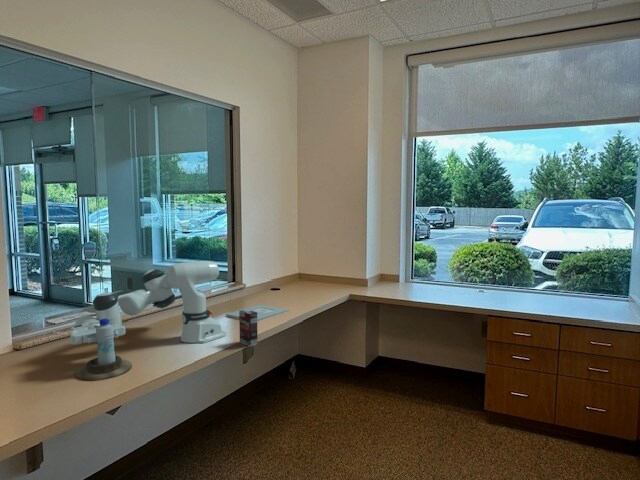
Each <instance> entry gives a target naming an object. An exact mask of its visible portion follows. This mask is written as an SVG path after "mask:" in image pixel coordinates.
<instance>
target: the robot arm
mask: <svg viewBox="0 0 640 480" xmlns="http://www.w3.org/2000/svg"><path fill="white" fill-rule="evenodd" d="M166 272H167V273H166ZM219 275H220V268H219V266H218V264H217V263H216V262H215V261H211V260H199V261H198V260H197V261H186V262H178V263H174V264H171V265H169V267H168V269H167V271H165V270H164V271H163V270H160V269H158V268H157V269H156V268H155V269H149V270H148V271H146V272H145V273H144V274H143V275H142V276H141V281H142V284H143V285H144V287H145V289H142V288H141V289H138V290H137V289H136V290H134V291H133V290H131V289H122V290H116V291H112V292H103V293H100V294H98V295H96V296H95V297H94V299H93V301H92V305H93V309H94V310H95V317H94V316H91V315H81V316H80V317H79V318H78V319H77V320H76V321H75V323H74V326H72V327H70V333H69V335H70V336H69V338H70V344H71V345H73V346H75V345H82V344H85V343H88V344H92V343H96V342H97V340H96V328H97V327H98V326H100V320H101V319H108V320H109V325H112V326H113V330H114V338H113V339H117V338H119V337H121V336H124V335H125V334H126V327H125V325H123V322H122V320H123V319H122V315H121V312H123V314H125V315H128V316H137V315H138V314H140V313H142V312H144V311H145V309H147V307H149V305H151V304H152V307H153V308H154V307H155V308H158V309H164V308H169V307H171V306H172V305H173V304H174V302H176V295H175V293H174V292H173V290H172V289H175V290H178V291H179V292H180V295H181V298H182V308H183V310H182V316H181V317H182V331H181V336H180V341H181V342H183V343H192V344H193V343H195V344H196V343H197V344H199V343H200V344H203V343H204V344H205V343H208V342H211V341H215V340H217V339H219V338H223V337H226V336H227V332H226V331H225V330H223V329H222V326H221V325H222V324H221V323H220V322H219V321H218V320H216V319H214V318H213V317H211V316H213V315H214V311H213V310H208V309H207V296H206V294H205V293H204V291H201V290H199V289H196V285H203V284H206V283H209V282H210V283H211V282H213V281H215V280H217V279H218V276H219ZM120 310H121V312H120ZM210 315H211V316H210Z"/></svg>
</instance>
